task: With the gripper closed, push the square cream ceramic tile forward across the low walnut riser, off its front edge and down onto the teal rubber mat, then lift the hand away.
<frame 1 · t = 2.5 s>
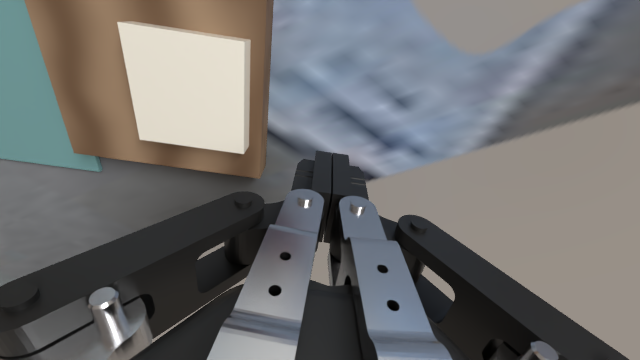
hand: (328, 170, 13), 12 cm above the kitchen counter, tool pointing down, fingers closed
tile: (192, 92, 21), point 3 cm above the kitchen counter, touching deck
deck: (172, 77, 24), on the kitchen counter
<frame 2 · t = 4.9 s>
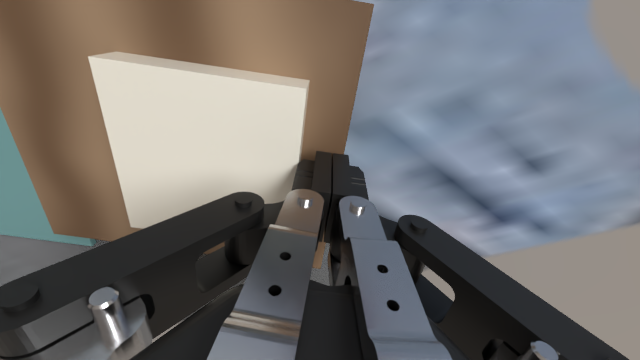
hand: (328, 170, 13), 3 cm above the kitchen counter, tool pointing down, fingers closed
tile: (212, 160, 13), point 3 cm above the kitchen counter
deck: (197, 127, 16), on the kitchen counter
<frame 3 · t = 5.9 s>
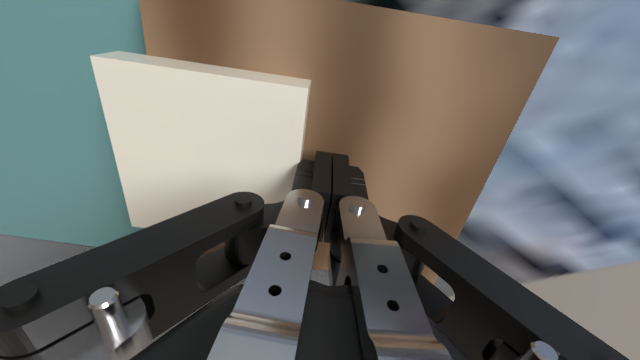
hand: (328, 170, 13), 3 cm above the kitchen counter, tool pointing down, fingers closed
tile: (213, 159, 13), point 3 cm above the kitchen counter, touching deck, gripper
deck: (325, 147, 16), on the kitchen counter
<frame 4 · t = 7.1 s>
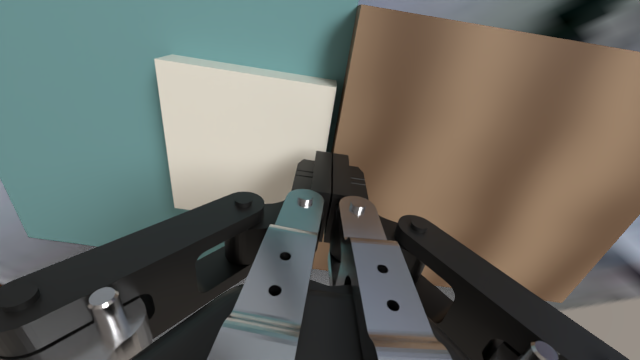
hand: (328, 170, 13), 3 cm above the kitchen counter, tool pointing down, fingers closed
mat: (153, 121, 16), on the kitchen counter
tile: (249, 149, 15), point 1 cm above the kitchen counter, touching mat
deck: (467, 169, 17), on the kitchen counter
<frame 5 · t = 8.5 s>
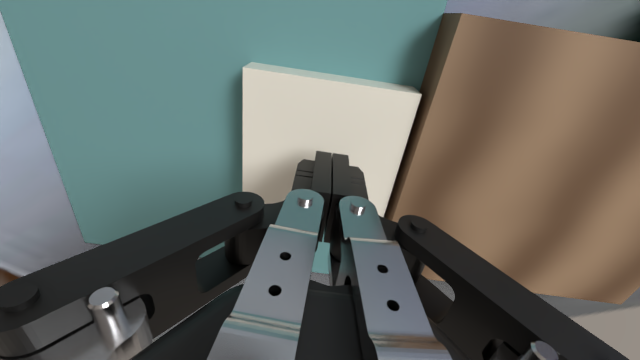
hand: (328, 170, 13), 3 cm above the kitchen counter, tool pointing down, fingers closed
mat: (223, 127, 16), on the kitchen counter
tile: (321, 154, 15), point 1 cm above the kitchen counter, touching mat
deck: (532, 173, 17), on the kitchen counter
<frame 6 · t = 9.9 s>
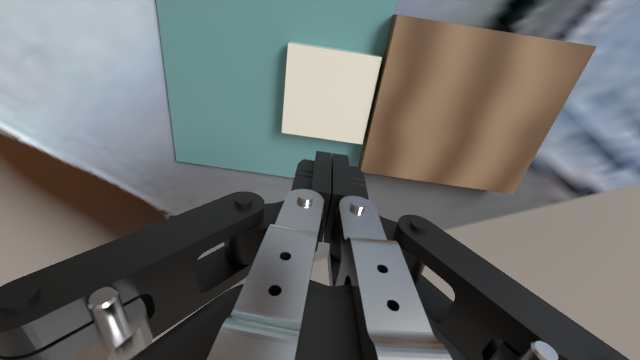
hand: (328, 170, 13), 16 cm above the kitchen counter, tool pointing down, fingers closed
mat: (270, 81, 28), on the kitchen counter
tile: (328, 95, 27), point 1 cm above the kitchen counter, touching mat
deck: (453, 109, 28), on the kitchen counter
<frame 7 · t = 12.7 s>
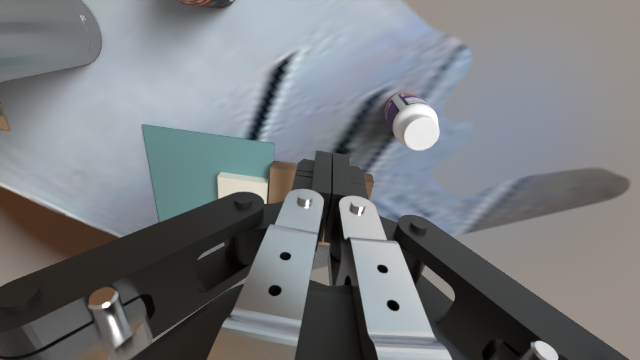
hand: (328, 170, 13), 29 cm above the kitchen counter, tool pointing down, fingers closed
mat: (212, 188, 49), on the kitchen counter
pill bottle: (403, 109, 41), on the kitchen counter
tile: (243, 198, 48), point 1 cm above the kitchen counter, touching mat
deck: (317, 203, 50), on the kitchen counter
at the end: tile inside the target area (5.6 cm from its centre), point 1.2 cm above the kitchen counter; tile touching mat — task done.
